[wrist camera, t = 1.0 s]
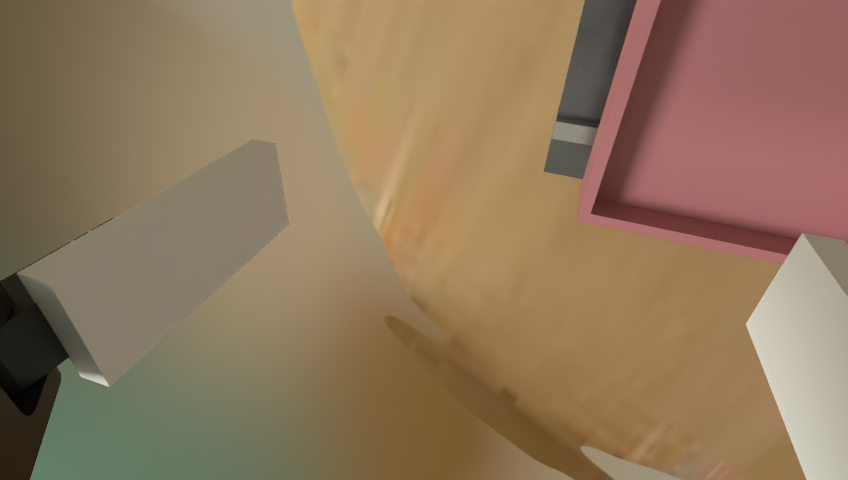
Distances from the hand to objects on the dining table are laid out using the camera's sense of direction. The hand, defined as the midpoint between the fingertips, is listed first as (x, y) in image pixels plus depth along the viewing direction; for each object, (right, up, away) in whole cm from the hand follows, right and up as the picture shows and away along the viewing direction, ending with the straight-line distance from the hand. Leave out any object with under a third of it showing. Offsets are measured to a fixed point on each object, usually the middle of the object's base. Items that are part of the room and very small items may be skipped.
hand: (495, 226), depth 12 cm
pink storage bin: (+17, +9, +13) cm, 23 cm away
